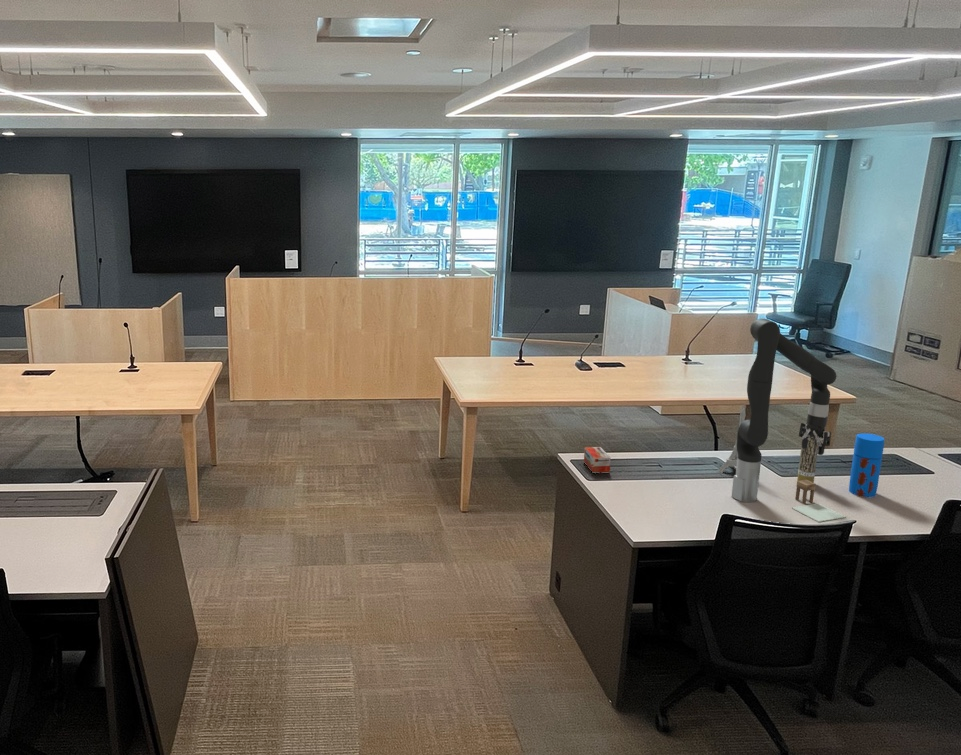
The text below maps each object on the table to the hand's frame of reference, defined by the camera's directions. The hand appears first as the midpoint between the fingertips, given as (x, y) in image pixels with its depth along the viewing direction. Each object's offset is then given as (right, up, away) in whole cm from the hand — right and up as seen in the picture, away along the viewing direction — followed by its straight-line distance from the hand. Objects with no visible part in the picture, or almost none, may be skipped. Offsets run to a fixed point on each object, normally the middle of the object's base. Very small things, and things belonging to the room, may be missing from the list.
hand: (812, 451), depth 313 cm
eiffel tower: (-19, -13, +35) cm, 42 cm away
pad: (-2, -24, -10) cm, 26 cm away
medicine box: (-84, -11, +35) cm, 92 cm away
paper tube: (+7, -16, +23) cm, 29 cm away
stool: (-2, -21, +2) cm, 21 cm away
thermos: (+27, -19, +13) cm, 35 cm away
